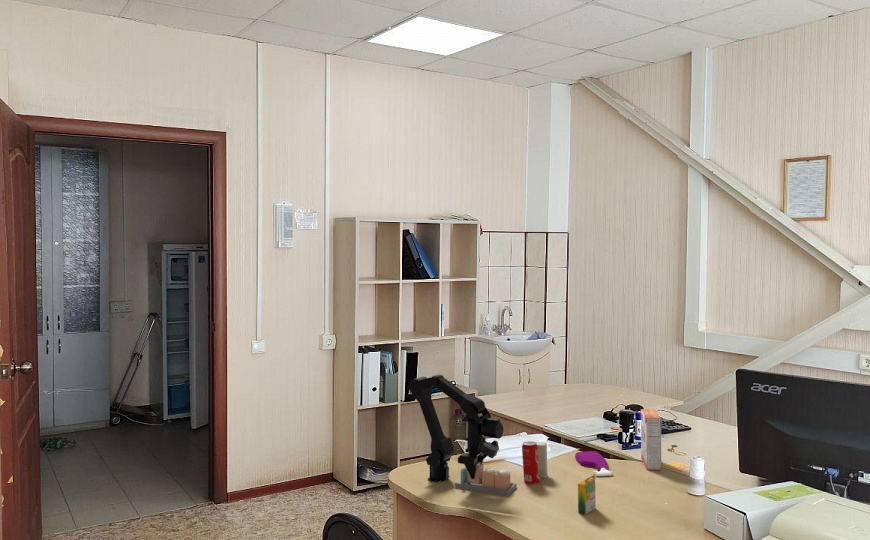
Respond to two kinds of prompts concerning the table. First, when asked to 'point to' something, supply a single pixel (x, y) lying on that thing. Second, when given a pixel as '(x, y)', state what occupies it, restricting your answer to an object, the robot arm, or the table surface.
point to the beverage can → (530, 463)
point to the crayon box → (586, 495)
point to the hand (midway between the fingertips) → (475, 476)
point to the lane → (486, 488)
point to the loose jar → (477, 474)
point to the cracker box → (651, 439)
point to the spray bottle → (593, 462)
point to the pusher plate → (464, 475)
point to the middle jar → (488, 477)
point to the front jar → (502, 480)
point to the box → (542, 459)
